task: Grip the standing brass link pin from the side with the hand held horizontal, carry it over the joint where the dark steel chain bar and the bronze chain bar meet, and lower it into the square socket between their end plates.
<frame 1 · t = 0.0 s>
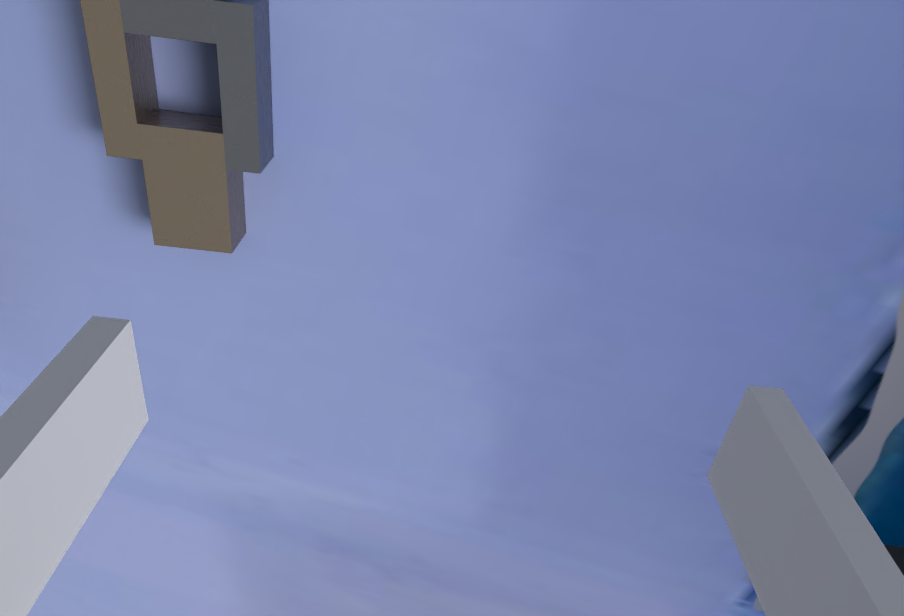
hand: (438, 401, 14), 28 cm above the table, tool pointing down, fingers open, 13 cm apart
chain joint: (195, 73, 38), on the table
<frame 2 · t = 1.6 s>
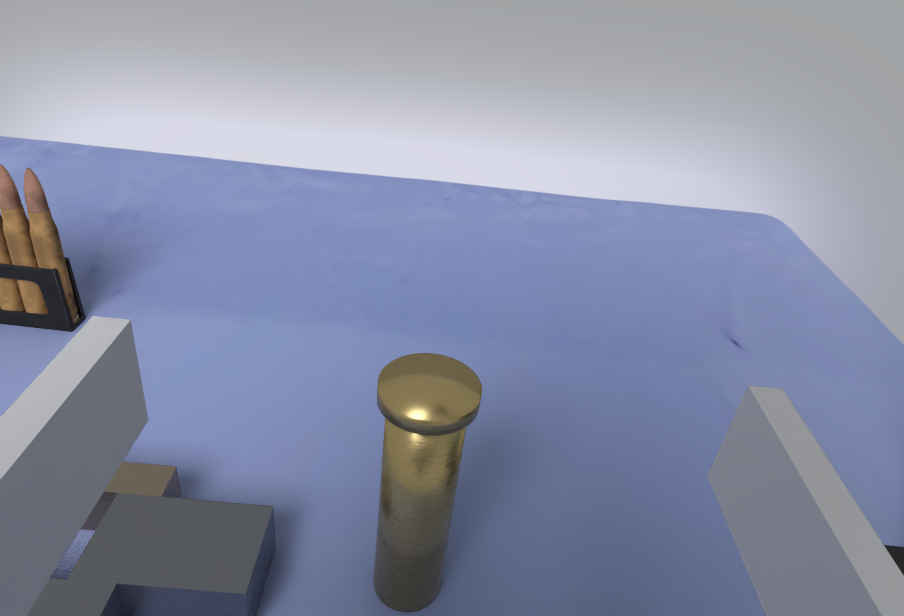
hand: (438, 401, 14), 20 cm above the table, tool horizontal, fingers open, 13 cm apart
ammunition clip: (7, 318, 48), on the table
chain joint: (54, 569, 31), on the table
link pin: (407, 580, 33), on the table
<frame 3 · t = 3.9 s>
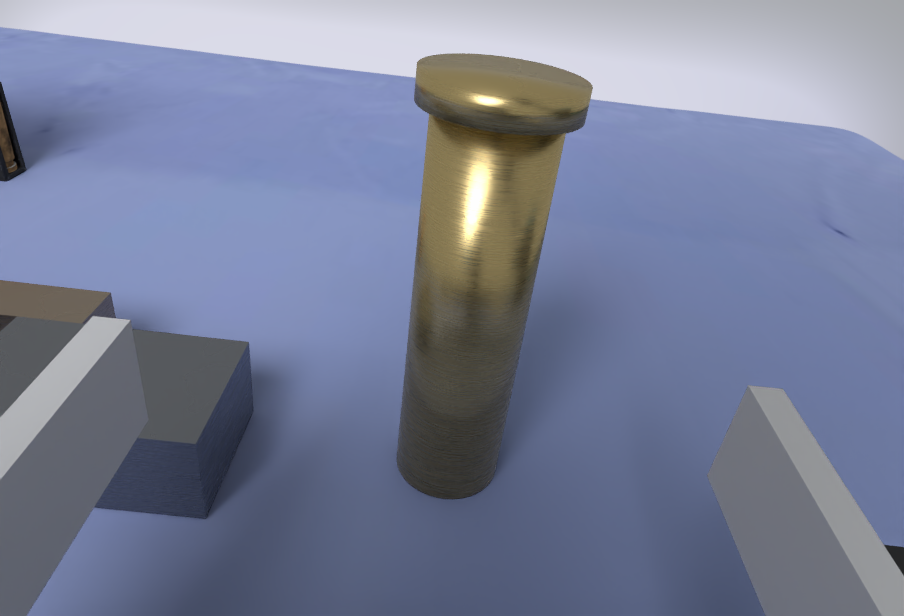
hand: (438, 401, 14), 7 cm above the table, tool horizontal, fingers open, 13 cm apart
link pin: (446, 460, 22), on the table
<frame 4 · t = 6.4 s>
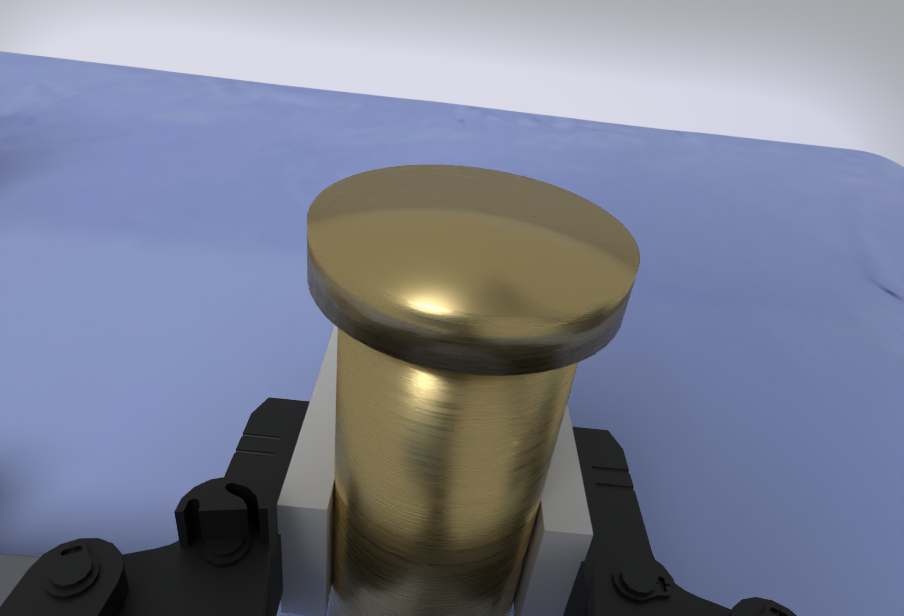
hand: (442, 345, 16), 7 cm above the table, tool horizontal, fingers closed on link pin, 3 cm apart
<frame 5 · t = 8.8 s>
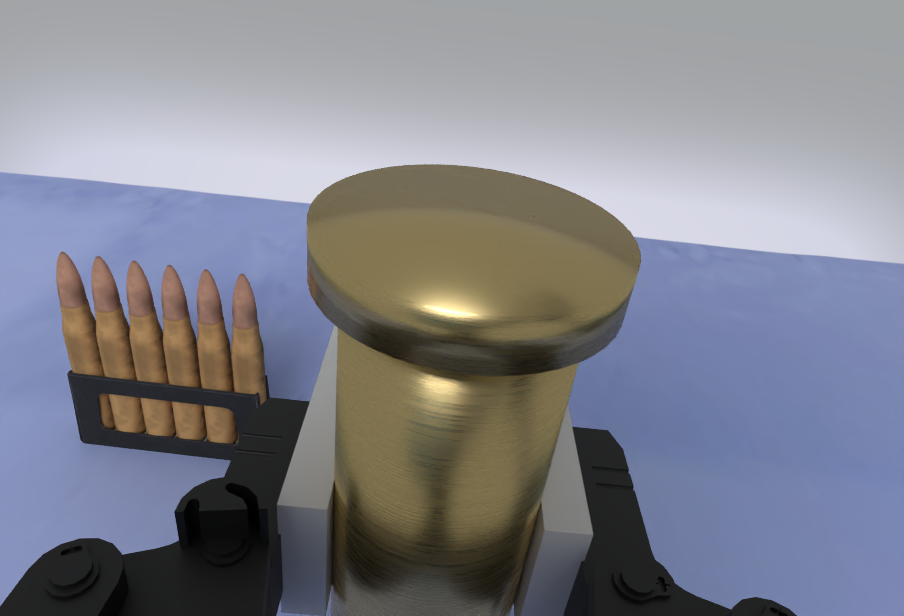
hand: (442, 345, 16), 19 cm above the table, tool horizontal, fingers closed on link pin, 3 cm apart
ammunition clip: (180, 444, 38), on the table
when the fingers open (8 cm above the table, at t = 11.5 s): link pin drops 1 cm, resting in chain joint.
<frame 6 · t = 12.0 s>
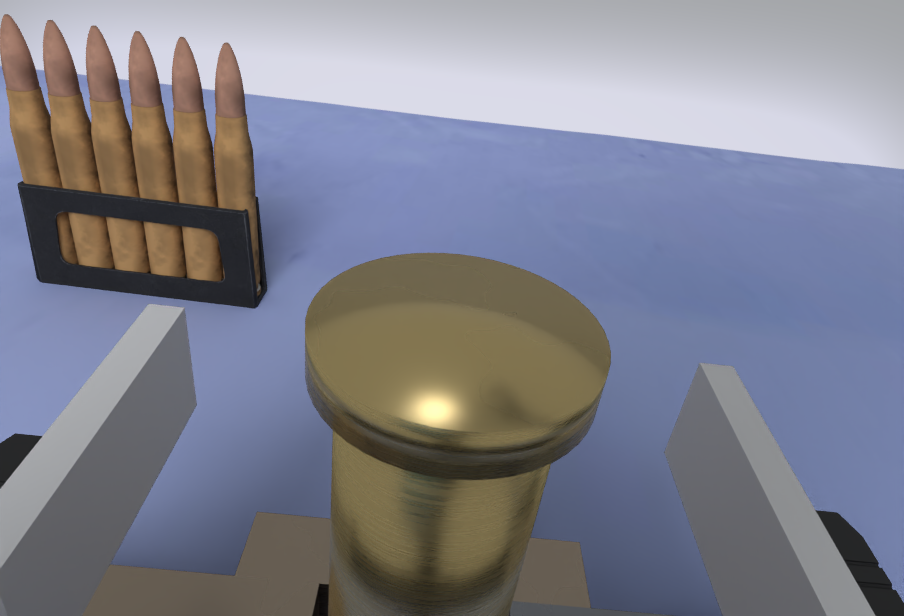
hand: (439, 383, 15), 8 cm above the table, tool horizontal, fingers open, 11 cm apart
ammunition clip: (155, 289, 32), on the table
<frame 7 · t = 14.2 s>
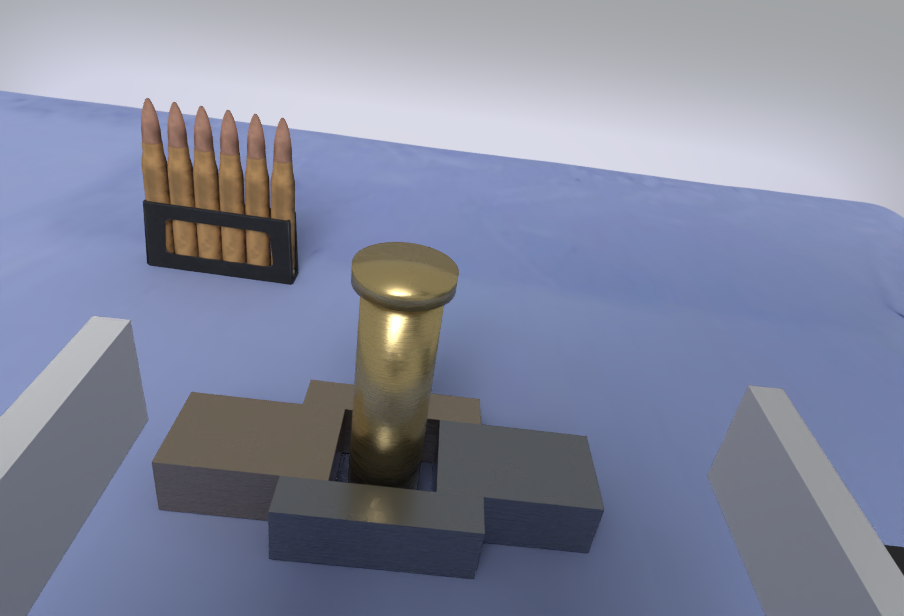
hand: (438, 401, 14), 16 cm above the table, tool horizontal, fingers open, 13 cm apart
ammunition clip: (224, 271, 49), on the table
chain joint: (382, 492, 32), on the table
link pin: (381, 493, 32), resting in chain joint
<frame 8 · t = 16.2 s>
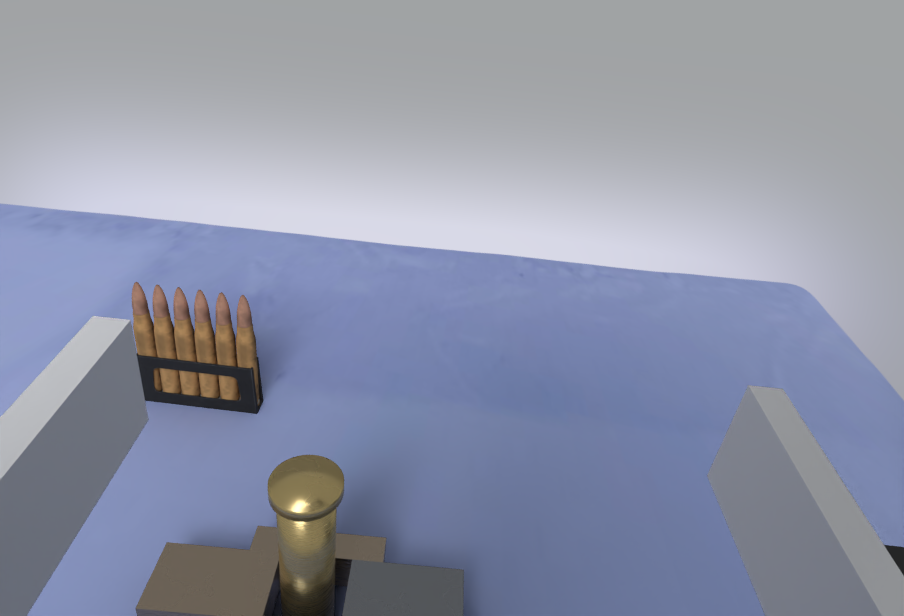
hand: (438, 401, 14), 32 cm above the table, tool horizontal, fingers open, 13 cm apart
ammunition clip: (202, 402, 60), on the table
chain joint: (309, 615, 43), on the table
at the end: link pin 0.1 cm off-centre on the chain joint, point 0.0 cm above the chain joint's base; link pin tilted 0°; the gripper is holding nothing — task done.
